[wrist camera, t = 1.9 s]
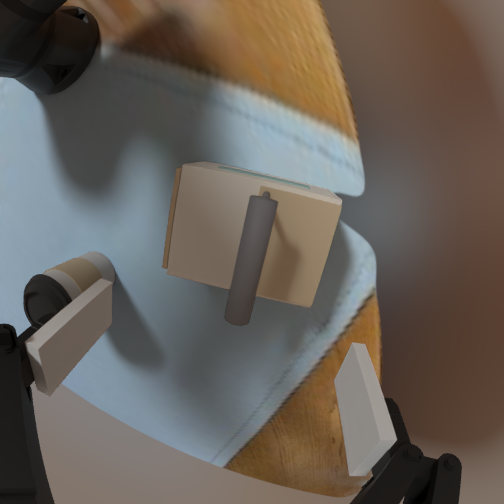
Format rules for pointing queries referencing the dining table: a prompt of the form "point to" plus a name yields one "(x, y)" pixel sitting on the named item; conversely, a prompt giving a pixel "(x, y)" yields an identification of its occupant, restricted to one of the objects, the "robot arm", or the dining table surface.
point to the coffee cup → (65, 284)
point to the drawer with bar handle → (280, 250)
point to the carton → (217, 219)
